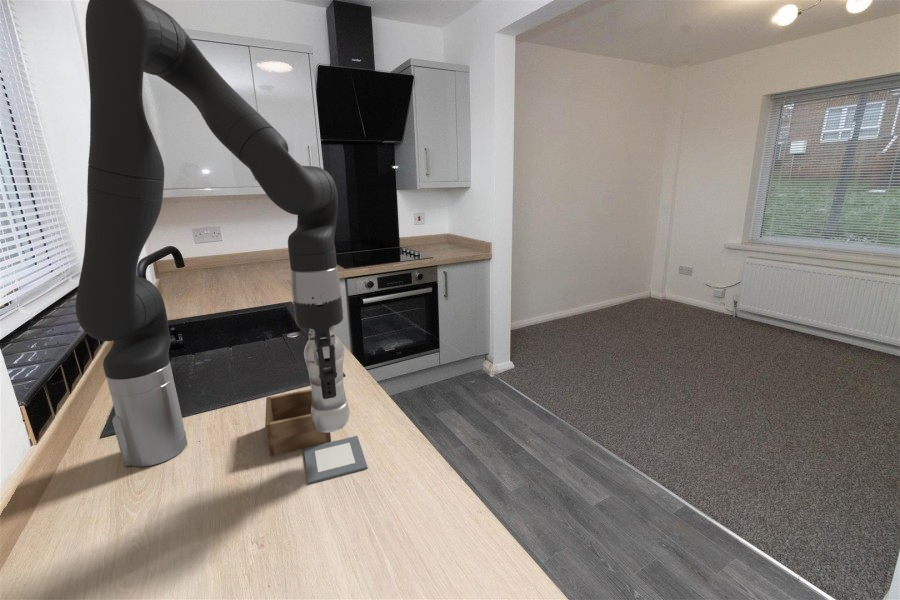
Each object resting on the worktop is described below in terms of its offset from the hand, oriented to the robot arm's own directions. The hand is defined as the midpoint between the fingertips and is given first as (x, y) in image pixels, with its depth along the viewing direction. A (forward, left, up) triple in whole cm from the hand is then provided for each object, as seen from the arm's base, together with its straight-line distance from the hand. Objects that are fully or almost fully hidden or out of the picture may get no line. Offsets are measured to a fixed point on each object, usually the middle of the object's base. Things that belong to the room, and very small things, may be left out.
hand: (327, 388), depth 71 cm
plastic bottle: (0, 0, -8) cm, 8 cm away
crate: (-6, +11, -14) cm, 19 cm away
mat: (0, 0, -14) cm, 14 cm away
